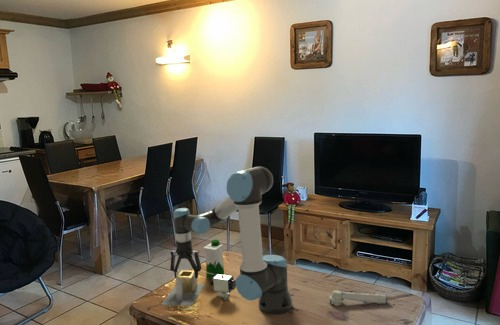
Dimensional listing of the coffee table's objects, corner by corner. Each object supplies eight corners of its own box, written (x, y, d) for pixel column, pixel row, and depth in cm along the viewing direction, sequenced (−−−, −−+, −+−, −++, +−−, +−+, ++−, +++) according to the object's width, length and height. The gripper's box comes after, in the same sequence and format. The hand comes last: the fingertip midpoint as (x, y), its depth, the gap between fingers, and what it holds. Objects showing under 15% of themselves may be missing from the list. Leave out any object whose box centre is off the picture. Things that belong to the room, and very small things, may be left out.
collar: (197, 285, 203) (196, 270, 202) (192, 293, 195) (191, 277, 194) (182, 285, 204) (181, 270, 203) (177, 292, 196) (175, 277, 195)
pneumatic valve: (233, 302, 187) (231, 278, 185) (210, 299, 191) (209, 275, 189) (238, 297, 192) (236, 273, 190) (216, 293, 196) (214, 270, 194)
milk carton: (226, 276, 215) (224, 240, 212) (217, 283, 208) (214, 246, 205) (213, 273, 220) (210, 238, 217) (203, 280, 212) (200, 244, 209)
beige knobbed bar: (388, 297, 177) (331, 291, 178) (386, 311, 178) (329, 305, 179) (385, 292, 182) (329, 286, 183) (383, 305, 183) (328, 299, 184)
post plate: (205, 286, 204) (203, 264, 203) (192, 308, 183) (190, 284, 181) (177, 285, 207) (175, 263, 205) (161, 307, 186) (158, 283, 184)
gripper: (206, 237, 198) (209, 281, 201) (166, 237, 201) (169, 279, 205) (201, 242, 190) (205, 288, 194) (160, 242, 194) (164, 286, 197)
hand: (187, 283), depth 199 cm, fingers closed on collar, 8 cm apart
